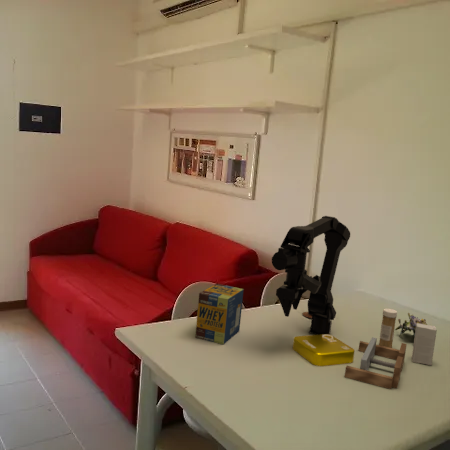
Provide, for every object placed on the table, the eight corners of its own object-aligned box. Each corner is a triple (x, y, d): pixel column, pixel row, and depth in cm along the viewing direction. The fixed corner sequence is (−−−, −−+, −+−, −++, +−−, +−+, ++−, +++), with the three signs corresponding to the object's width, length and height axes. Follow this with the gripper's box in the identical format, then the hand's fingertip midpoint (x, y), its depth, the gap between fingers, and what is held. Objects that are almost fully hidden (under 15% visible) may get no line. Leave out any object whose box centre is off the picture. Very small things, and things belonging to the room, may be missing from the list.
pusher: (358, 377, 144) (361, 359, 144) (369, 353, 164) (372, 337, 163) (396, 386, 140) (399, 368, 139) (403, 361, 159) (405, 344, 159)
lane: (344, 376, 144) (347, 357, 143) (359, 349, 167) (361, 332, 166) (396, 390, 138) (399, 370, 138) (404, 360, 161) (407, 342, 160)
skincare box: (430, 361, 162) (436, 326, 161) (431, 366, 158) (437, 330, 157) (411, 357, 164) (416, 322, 162) (411, 361, 160) (416, 326, 158)
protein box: (194, 338, 164) (198, 292, 161) (213, 324, 178) (216, 283, 176) (223, 345, 160) (228, 298, 158) (240, 331, 174) (244, 288, 172)
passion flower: (418, 356, 180) (426, 338, 171) (388, 344, 184) (394, 325, 176) (426, 333, 186) (434, 314, 178) (397, 322, 191) (404, 303, 182)
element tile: (290, 348, 163) (291, 334, 162) (327, 345, 169) (329, 331, 169) (315, 368, 150) (317, 353, 149) (355, 363, 156) (357, 349, 155)
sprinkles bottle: (394, 349, 170) (400, 311, 168) (386, 351, 167) (391, 313, 166) (383, 344, 174) (389, 307, 172) (375, 346, 171) (380, 308, 169)
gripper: (313, 276, 149) (307, 326, 151) (327, 265, 166) (321, 310, 168) (278, 269, 153) (272, 318, 155) (295, 260, 170) (290, 304, 172)
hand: (291, 312), depth 163 cm, fingers open, 9 cm apart
